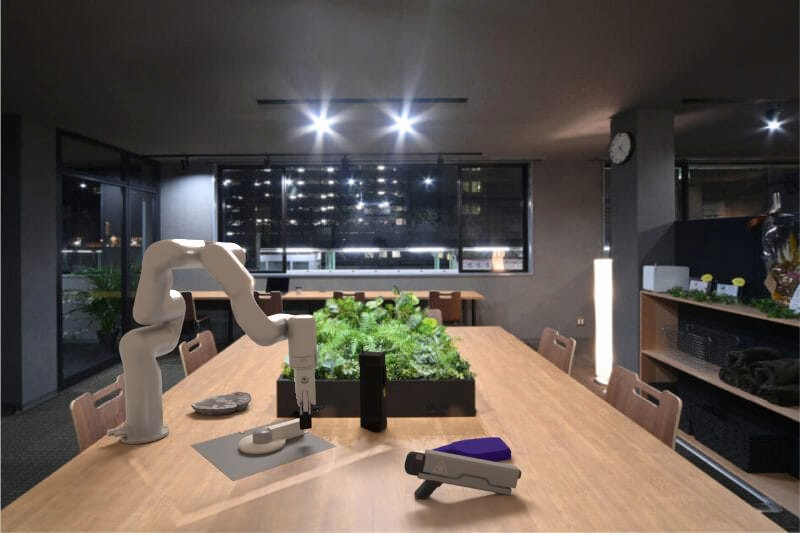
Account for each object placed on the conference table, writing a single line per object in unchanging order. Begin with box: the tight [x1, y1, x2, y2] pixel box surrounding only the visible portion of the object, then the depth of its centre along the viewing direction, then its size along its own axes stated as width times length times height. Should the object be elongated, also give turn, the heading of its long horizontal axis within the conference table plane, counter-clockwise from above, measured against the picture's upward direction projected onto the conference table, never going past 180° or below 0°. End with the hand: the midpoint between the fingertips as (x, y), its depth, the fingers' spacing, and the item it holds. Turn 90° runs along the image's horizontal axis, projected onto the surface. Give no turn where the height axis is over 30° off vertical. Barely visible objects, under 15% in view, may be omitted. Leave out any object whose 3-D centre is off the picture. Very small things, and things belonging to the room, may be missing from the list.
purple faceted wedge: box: [413, 436, 512, 463], centre depth 125 cm, size 3×11×24 cm
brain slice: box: [190, 391, 252, 416], centre depth 166 cm, size 20×17×3 cm
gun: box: [403, 448, 522, 500], centre depth 105 cm, size 2×25×10 cm, turn 93°
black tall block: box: [358, 344, 389, 433], centre depth 145 cm, size 8×6×25 cm
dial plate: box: [190, 419, 337, 482], centre depth 130 cm, size 28×28×2 cm
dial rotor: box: [239, 418, 305, 454], centre depth 132 cm, size 18×12×4 cm, turn 132°
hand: (305, 428), depth 132 cm, fingers closed
